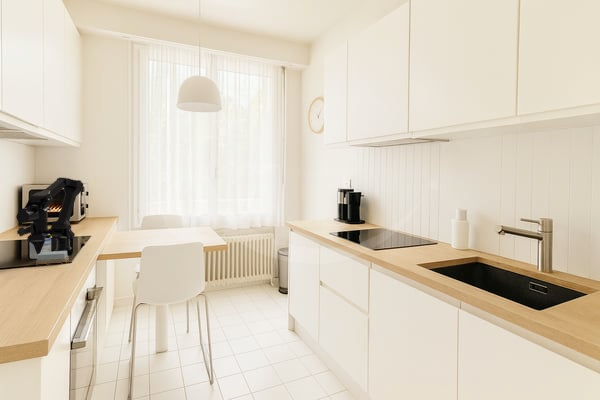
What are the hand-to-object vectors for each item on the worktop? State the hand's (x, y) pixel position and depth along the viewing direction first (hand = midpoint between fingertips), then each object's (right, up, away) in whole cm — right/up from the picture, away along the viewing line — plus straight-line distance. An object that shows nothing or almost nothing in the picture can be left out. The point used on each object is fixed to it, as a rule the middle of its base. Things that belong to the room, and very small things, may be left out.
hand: (40, 251), depth 159 cm
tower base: (+12, -4, -8) cm, 15 cm away
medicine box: (0, -3, 0) cm, 3 cm away
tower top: (+12, -2, -8) cm, 15 cm away
